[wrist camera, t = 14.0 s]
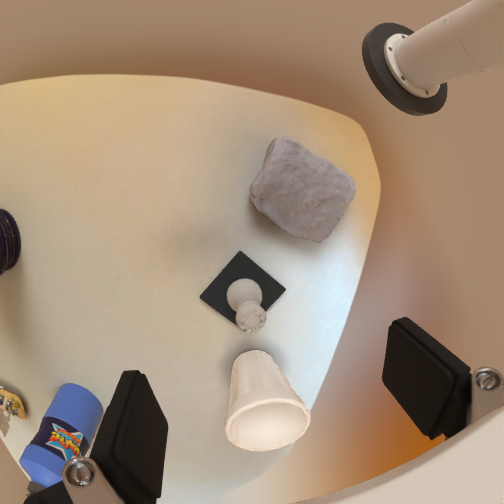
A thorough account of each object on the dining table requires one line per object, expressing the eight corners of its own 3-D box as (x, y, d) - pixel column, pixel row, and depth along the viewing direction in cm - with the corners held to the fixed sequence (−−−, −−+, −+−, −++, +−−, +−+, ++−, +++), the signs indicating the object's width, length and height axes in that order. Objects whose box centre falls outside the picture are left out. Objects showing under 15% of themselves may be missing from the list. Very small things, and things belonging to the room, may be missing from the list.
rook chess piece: (237, 271, 35) (244, 295, 27) (267, 286, 36) (281, 313, 28) (220, 300, 36) (222, 330, 28) (250, 314, 37) (259, 346, 29)
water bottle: (70, 374, 36) (12, 484, 12) (112, 408, 38) (78, 524, 14) (52, 395, 36) (2, 489, 12) (90, 425, 39) (57, 524, 15)
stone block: (315, 240, 38) (353, 178, 35) (324, 254, 33) (367, 184, 30) (238, 200, 36) (275, 132, 32) (236, 209, 31) (279, 131, 28)
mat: (240, 250, 35) (240, 251, 34) (285, 288, 37) (286, 289, 36) (199, 296, 36) (199, 298, 35) (245, 330, 38) (245, 332, 37)
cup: (298, 364, 40) (326, 423, 28) (248, 398, 41) (260, 460, 28) (258, 324, 38) (279, 384, 25) (205, 363, 38) (205, 429, 26)
